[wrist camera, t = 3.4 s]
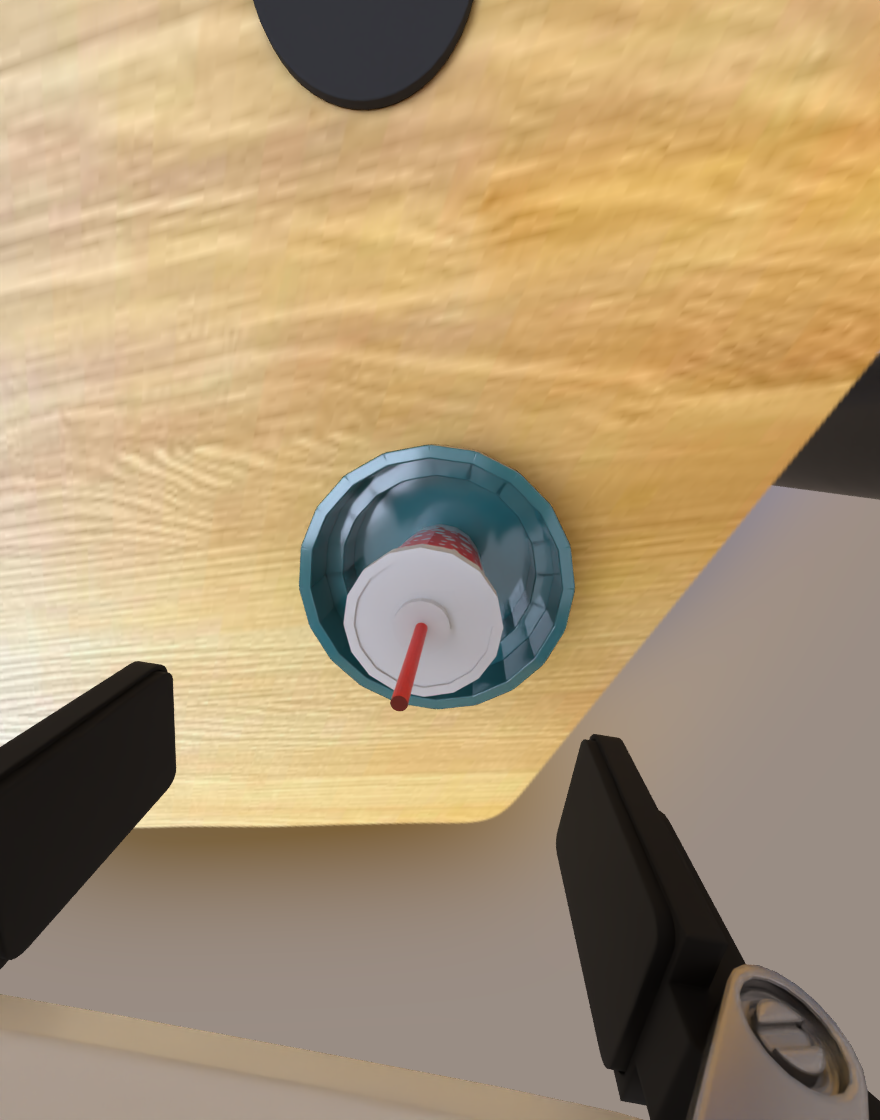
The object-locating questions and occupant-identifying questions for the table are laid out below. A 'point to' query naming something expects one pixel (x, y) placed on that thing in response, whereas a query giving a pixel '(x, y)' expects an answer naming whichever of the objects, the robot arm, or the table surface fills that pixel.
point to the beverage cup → (425, 616)
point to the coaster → (363, 45)
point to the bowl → (454, 500)
